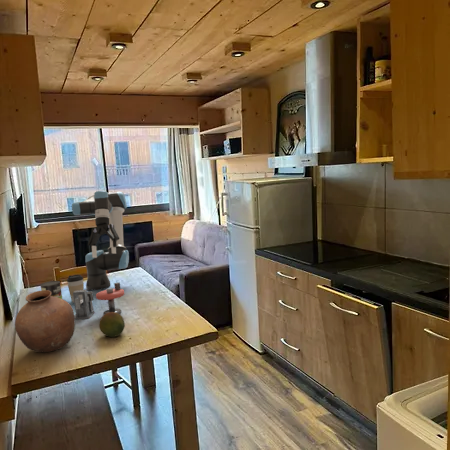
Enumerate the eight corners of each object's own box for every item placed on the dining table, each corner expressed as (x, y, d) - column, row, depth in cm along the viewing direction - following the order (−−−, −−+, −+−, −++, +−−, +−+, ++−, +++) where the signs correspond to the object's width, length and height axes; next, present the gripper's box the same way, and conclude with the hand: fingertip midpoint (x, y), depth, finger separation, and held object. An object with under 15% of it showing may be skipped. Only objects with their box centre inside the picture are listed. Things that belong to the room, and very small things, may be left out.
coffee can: (67, 304, 233) (63, 280, 231) (56, 310, 223) (52, 285, 221) (51, 304, 235) (47, 280, 233) (39, 310, 225) (36, 286, 223)
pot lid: (110, 301, 200) (108, 291, 200) (90, 298, 208) (89, 288, 207) (130, 292, 212) (129, 283, 212) (110, 290, 219) (109, 281, 219)
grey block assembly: (80, 311, 219) (77, 286, 217) (97, 309, 219) (93, 285, 217) (71, 319, 207) (68, 294, 205) (89, 318, 206) (85, 292, 205)
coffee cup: (88, 297, 242) (85, 273, 240) (81, 302, 233) (78, 277, 231) (74, 298, 243) (70, 273, 241) (66, 303, 234) (63, 278, 232)
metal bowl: (106, 311, 216) (104, 294, 215) (123, 309, 216) (121, 293, 214) (101, 317, 207) (99, 300, 206) (118, 315, 207) (116, 298, 205)
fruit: (116, 327, 191) (114, 307, 189) (133, 333, 183) (131, 311, 181) (95, 336, 182) (92, 315, 181) (111, 342, 174) (109, 320, 173)
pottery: (68, 333, 189) (61, 280, 185) (85, 348, 170) (77, 290, 167) (14, 349, 175) (5, 293, 172) (26, 367, 157) (16, 305, 153)
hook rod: (87, 300, 223) (85, 288, 222) (93, 299, 223) (92, 287, 222) (75, 311, 205) (73, 299, 204) (81, 311, 205) (80, 298, 204)
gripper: (80, 221, 230) (81, 258, 225) (115, 212, 220) (117, 250, 215) (90, 223, 236) (91, 259, 232) (124, 214, 226) (126, 252, 222)
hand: (104, 255), depth 223 cm, fingers open, 13 cm apart
